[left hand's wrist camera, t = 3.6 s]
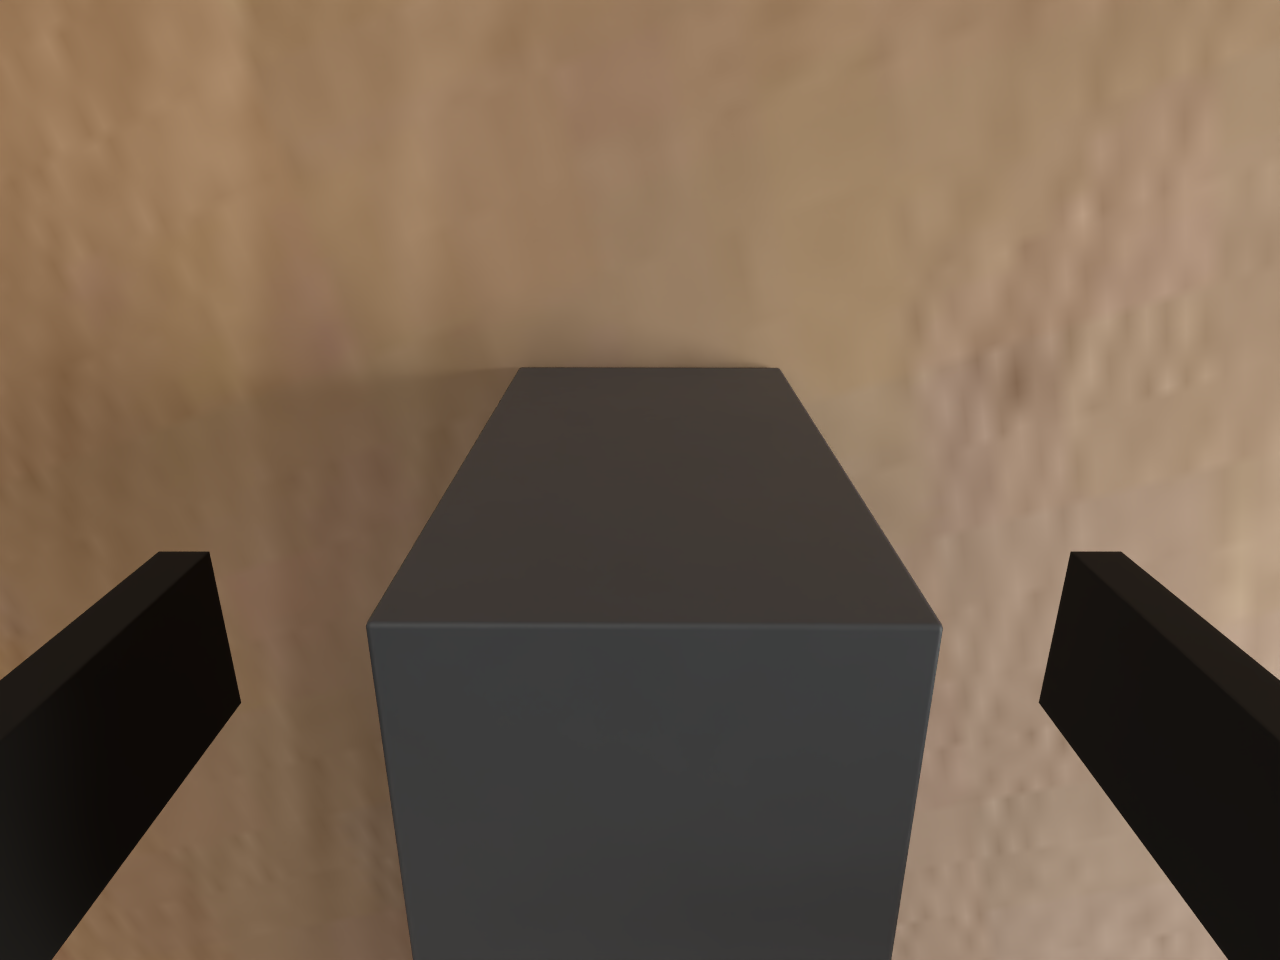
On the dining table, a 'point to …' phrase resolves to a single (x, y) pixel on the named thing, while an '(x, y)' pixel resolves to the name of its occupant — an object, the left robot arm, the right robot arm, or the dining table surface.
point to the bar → (652, 683)
